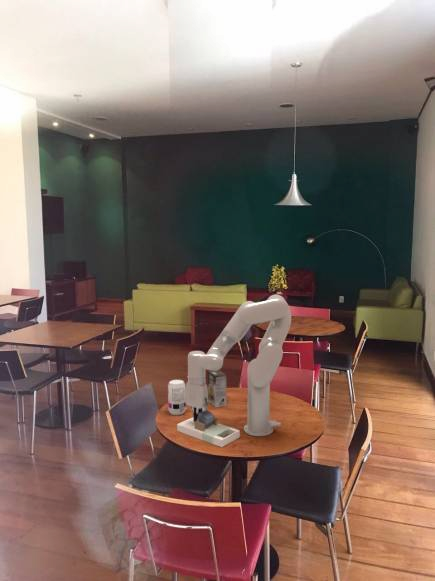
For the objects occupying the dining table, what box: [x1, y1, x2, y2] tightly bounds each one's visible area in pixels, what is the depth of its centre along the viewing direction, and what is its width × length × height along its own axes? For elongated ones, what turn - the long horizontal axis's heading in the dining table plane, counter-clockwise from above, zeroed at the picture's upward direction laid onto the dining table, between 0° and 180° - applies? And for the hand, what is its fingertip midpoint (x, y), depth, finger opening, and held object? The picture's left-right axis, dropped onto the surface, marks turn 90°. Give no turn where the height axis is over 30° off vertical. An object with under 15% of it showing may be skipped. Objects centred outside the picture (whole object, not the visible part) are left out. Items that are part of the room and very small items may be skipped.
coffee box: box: [207, 369, 227, 408], centre depth 234 cm, size 9×6×16 cm
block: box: [197, 409, 216, 429], centre depth 200 cm, size 5×5×5 cm
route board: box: [176, 417, 241, 448], centre depth 200 cm, size 25×12×6 cm, turn 50°
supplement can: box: [167, 379, 187, 416], centre depth 224 cm, size 8×8×15 cm
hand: (197, 421), depth 203 cm, fingers closed
